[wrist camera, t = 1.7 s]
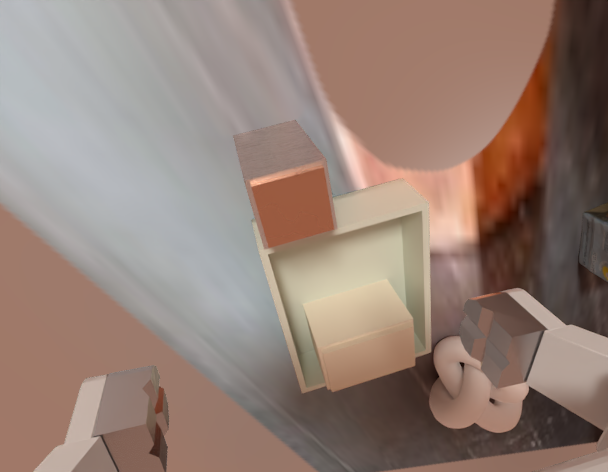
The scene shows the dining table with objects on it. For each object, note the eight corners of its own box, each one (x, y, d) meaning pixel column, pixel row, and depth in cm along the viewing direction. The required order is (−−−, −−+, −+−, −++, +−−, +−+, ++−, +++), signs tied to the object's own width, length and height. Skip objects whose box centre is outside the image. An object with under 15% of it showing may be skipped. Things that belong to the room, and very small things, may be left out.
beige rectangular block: (386, 278, 41) (416, 323, 35) (390, 320, 44) (418, 366, 39) (302, 304, 40) (319, 353, 35) (312, 344, 43) (329, 395, 38)
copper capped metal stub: (295, 119, 31) (327, 161, 23) (306, 177, 34) (339, 232, 26) (233, 135, 31) (244, 183, 23) (249, 192, 34) (265, 253, 26)
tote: (402, 178, 36) (429, 202, 32) (410, 319, 46) (431, 352, 42) (251, 219, 35) (258, 250, 31) (292, 356, 45) (302, 393, 40)
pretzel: (411, 332, 47) (451, 396, 40) (504, 304, 48) (560, 361, 41) (412, 391, 53) (447, 456, 46) (495, 365, 54) (542, 425, 47)
